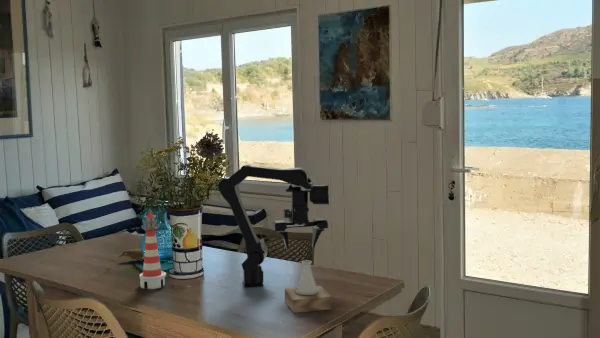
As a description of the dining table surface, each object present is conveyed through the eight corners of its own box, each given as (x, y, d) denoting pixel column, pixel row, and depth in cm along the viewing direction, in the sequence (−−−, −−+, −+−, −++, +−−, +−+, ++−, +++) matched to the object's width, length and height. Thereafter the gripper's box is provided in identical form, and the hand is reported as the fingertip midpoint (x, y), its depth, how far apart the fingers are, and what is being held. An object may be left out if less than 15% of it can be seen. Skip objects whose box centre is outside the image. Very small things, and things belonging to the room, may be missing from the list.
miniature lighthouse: (171, 283, 220) (168, 199, 217) (157, 290, 211) (154, 203, 208) (149, 280, 223) (146, 198, 220) (134, 288, 214) (130, 202, 211)
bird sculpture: (180, 260, 252) (180, 248, 251) (117, 264, 247) (116, 252, 246) (180, 256, 258) (180, 245, 258) (118, 260, 253) (118, 248, 253)
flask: (314, 296, 190) (314, 265, 188) (292, 294, 192) (292, 263, 191) (321, 290, 196) (321, 259, 195) (299, 288, 199) (299, 257, 198)
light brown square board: (293, 312, 187) (293, 299, 187) (284, 300, 199) (284, 288, 198) (331, 309, 190) (331, 296, 190) (320, 297, 202) (320, 285, 201)
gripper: (319, 199, 222) (319, 242, 224) (268, 202, 218) (269, 245, 220) (328, 204, 212) (328, 249, 213) (275, 207, 207) (275, 252, 209)
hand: (300, 248), depth 214 cm, fingers open, 9 cm apart
